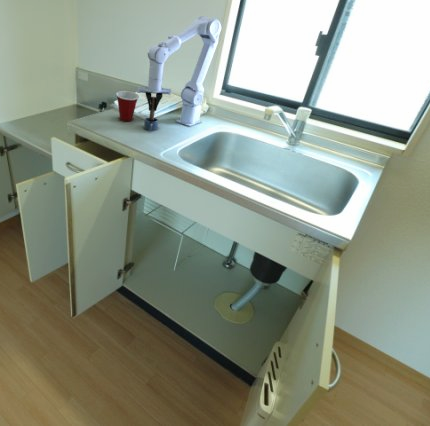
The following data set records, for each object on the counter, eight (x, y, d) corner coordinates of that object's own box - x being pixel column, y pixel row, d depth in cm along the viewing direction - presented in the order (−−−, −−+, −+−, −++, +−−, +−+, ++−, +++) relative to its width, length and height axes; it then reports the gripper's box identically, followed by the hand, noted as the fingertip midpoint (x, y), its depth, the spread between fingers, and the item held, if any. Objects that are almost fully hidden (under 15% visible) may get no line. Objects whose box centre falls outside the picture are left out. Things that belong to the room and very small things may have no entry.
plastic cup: (129, 125, 152) (131, 99, 145) (110, 119, 156) (111, 94, 149) (141, 119, 159) (143, 94, 152) (123, 114, 164) (124, 89, 157)
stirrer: (151, 118, 149) (153, 96, 143) (154, 119, 148) (156, 97, 142) (148, 119, 148) (150, 97, 142) (151, 120, 147) (153, 98, 141)
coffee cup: (144, 125, 153) (145, 116, 151) (157, 126, 153) (158, 117, 151) (143, 131, 146) (143, 123, 144) (157, 133, 146) (157, 124, 144)
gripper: (138, 79, 134) (136, 112, 142) (173, 81, 135) (169, 113, 142) (138, 75, 140) (136, 106, 148) (171, 77, 140) (168, 108, 148)
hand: (152, 110), depth 146 cm, fingers closed on stirrer, 2 cm apart
